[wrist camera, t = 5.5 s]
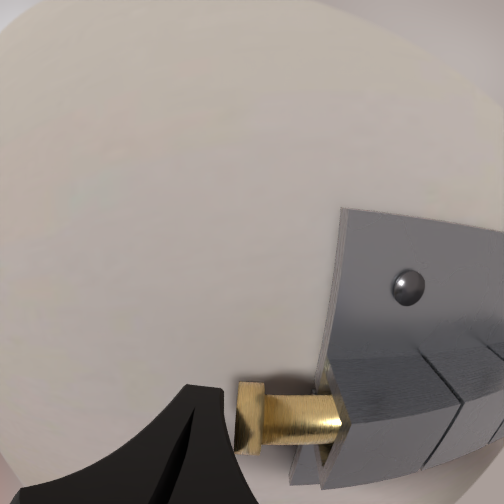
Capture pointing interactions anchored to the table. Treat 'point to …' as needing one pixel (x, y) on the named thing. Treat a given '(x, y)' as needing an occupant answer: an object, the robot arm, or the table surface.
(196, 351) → the table surface
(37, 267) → the table surface
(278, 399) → the pin
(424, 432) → the hinge
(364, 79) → the table surface
